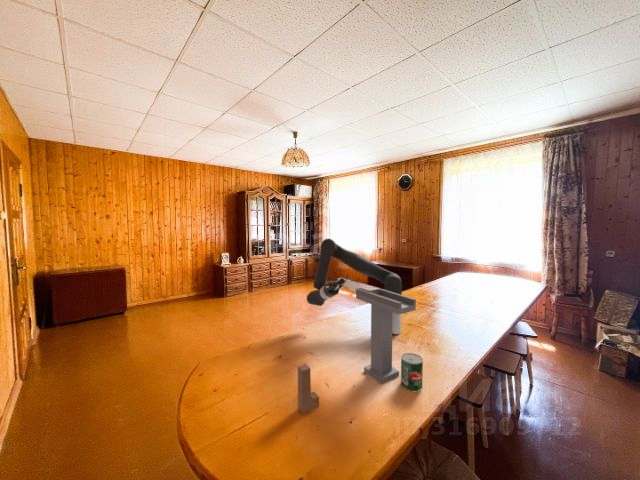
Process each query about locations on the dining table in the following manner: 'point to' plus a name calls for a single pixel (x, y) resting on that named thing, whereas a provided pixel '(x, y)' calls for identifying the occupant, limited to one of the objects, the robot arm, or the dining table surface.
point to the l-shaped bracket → (306, 390)
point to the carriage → (360, 286)
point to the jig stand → (383, 330)
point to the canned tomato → (411, 371)
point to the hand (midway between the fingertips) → (346, 279)
